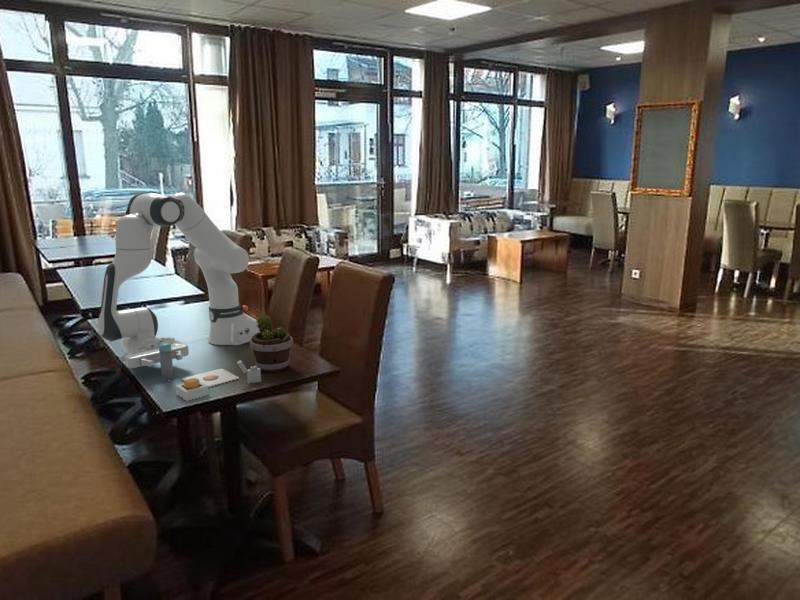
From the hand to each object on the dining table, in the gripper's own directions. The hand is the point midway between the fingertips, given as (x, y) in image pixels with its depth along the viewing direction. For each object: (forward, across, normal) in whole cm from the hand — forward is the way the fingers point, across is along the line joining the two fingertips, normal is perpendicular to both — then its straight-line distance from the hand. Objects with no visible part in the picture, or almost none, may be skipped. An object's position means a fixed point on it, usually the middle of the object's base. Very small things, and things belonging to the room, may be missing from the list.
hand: (166, 360), depth 190 cm
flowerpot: (+14, +31, +7) cm, 35 cm away
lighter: (+21, +18, +7) cm, 28 cm away
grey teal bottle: (0, 0, +6) cm, 7 cm away
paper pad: (+10, +10, +6) cm, 16 cm away
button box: (+18, 0, +6) cm, 19 cm away
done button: (+18, 0, +4) cm, 18 cm away
